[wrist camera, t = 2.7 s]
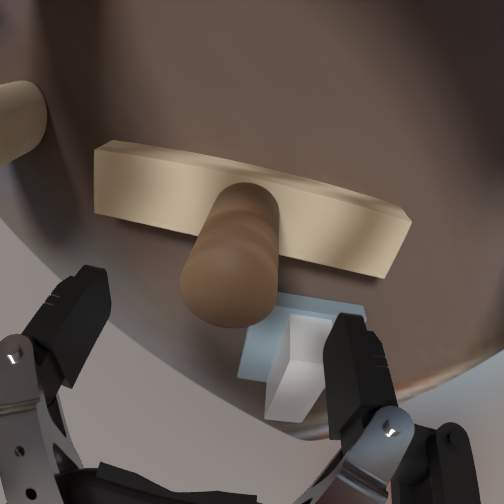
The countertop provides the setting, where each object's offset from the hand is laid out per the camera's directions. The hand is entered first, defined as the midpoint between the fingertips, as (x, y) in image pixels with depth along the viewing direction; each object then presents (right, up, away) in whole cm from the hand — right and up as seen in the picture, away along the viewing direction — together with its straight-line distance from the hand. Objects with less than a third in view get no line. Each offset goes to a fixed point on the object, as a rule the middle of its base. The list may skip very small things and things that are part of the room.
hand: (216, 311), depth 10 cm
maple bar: (+1, +5, +8) cm, 10 cm away
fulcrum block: (+5, -5, +14) cm, 16 cm away
